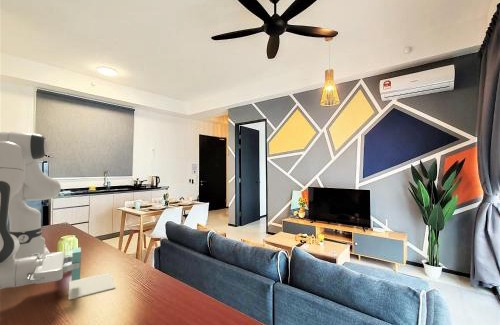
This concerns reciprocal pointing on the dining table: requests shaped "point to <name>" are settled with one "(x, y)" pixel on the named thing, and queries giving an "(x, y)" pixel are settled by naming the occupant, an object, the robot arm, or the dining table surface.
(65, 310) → the dining table surface
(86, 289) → the mat
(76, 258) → the slab
